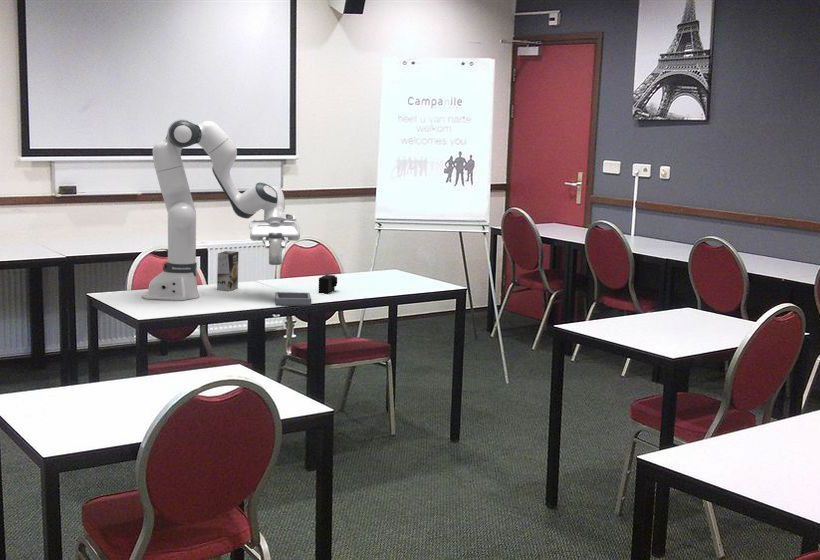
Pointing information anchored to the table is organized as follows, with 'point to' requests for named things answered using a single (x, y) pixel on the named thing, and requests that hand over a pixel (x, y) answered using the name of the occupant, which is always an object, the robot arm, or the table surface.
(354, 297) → the table surface
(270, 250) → the shaker
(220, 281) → the coffee box
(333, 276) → the digital camera
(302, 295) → the tray
